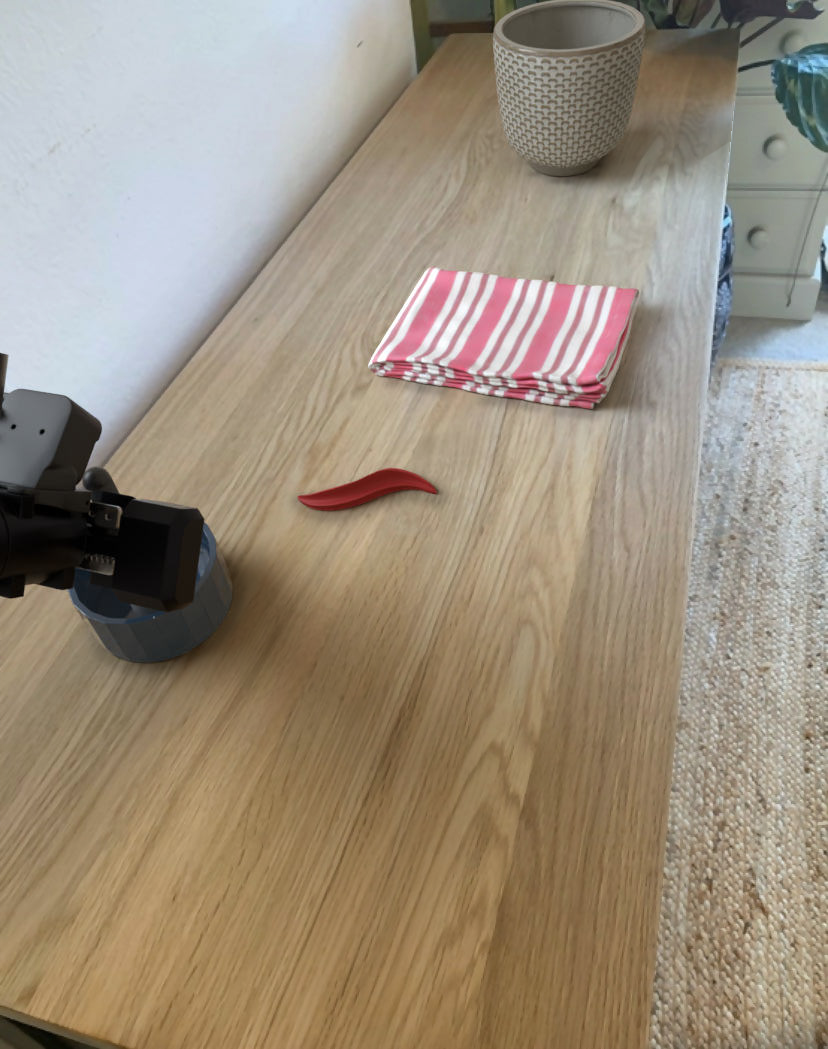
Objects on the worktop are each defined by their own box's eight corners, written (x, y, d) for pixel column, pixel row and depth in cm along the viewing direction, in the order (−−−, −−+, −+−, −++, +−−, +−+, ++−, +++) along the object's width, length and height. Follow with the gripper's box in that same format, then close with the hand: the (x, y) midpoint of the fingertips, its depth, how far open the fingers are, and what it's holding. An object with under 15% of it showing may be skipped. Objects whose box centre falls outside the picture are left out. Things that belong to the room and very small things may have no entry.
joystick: (155, 632, 63) (82, 502, 53) (124, 605, 65) (48, 475, 55) (197, 598, 65) (134, 465, 55) (166, 573, 67) (100, 440, 57)
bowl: (71, 660, 64) (43, 621, 60) (120, 548, 71) (98, 507, 67) (212, 666, 62) (192, 626, 59) (247, 550, 70) (231, 509, 66)
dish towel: (605, 414, 76) (608, 384, 74) (366, 377, 83) (361, 348, 81) (640, 307, 87) (643, 276, 84) (424, 281, 94) (421, 252, 91)
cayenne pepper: (440, 474, 73) (438, 458, 72) (433, 514, 70) (431, 498, 69) (305, 471, 75) (300, 455, 74) (293, 509, 72) (288, 493, 71)
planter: (510, 129, 117) (508, -2, 105) (639, 132, 112) (653, -4, 101) (482, 191, 106) (477, 52, 94) (624, 197, 102) (638, 52, 90)
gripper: (133, 415, 43) (272, 434, 58) (-152, 369, 48) (44, 398, 63) (105, 632, 44) (249, 595, 59) (-171, 564, 49) (26, 547, 64)
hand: (138, 528), depth 61 cm, fingers closed on joystick, 2 cm apart
